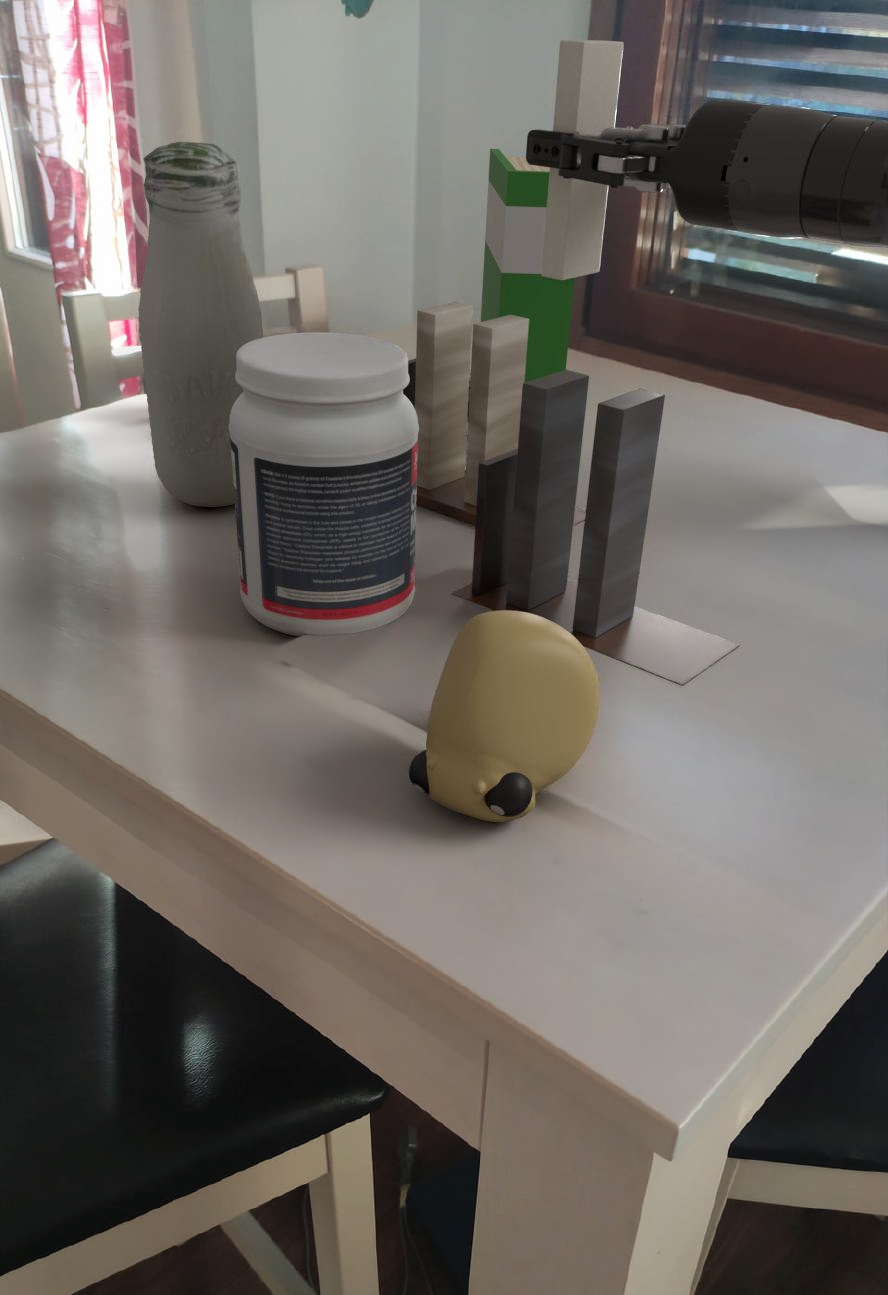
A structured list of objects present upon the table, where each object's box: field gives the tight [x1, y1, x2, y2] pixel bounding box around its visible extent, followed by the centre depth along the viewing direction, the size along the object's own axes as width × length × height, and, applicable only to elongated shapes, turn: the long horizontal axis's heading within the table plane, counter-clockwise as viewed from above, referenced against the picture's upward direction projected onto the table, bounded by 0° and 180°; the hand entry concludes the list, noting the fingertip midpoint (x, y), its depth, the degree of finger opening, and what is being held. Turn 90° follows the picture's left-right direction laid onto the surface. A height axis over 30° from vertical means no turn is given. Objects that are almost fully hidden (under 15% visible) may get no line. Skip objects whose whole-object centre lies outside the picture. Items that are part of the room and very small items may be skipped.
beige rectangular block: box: [541, 39, 624, 280], centre depth 85 cm, size 2×5×15 cm, turn 140°
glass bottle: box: [138, 141, 264, 508], centre depth 95 cm, size 10×10×28 cm
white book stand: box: [403, 301, 586, 527], centre depth 100 cm, size 20×8×16 cm, turn 50°
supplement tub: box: [229, 331, 419, 638], centre depth 81 cm, size 13×13×18 cm
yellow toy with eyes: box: [408, 610, 601, 823], centre depth 66 cm, size 10×12×11 cm
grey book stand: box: [451, 369, 741, 687], centre depth 80 cm, size 20×8×17 cm, turn 50°
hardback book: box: [480, 148, 576, 383], centre depth 125 cm, size 18×7×24 cm, turn 4°
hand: (553, 144), depth 85 cm, fingers closed on beige rectangular block, 5 cm apart
